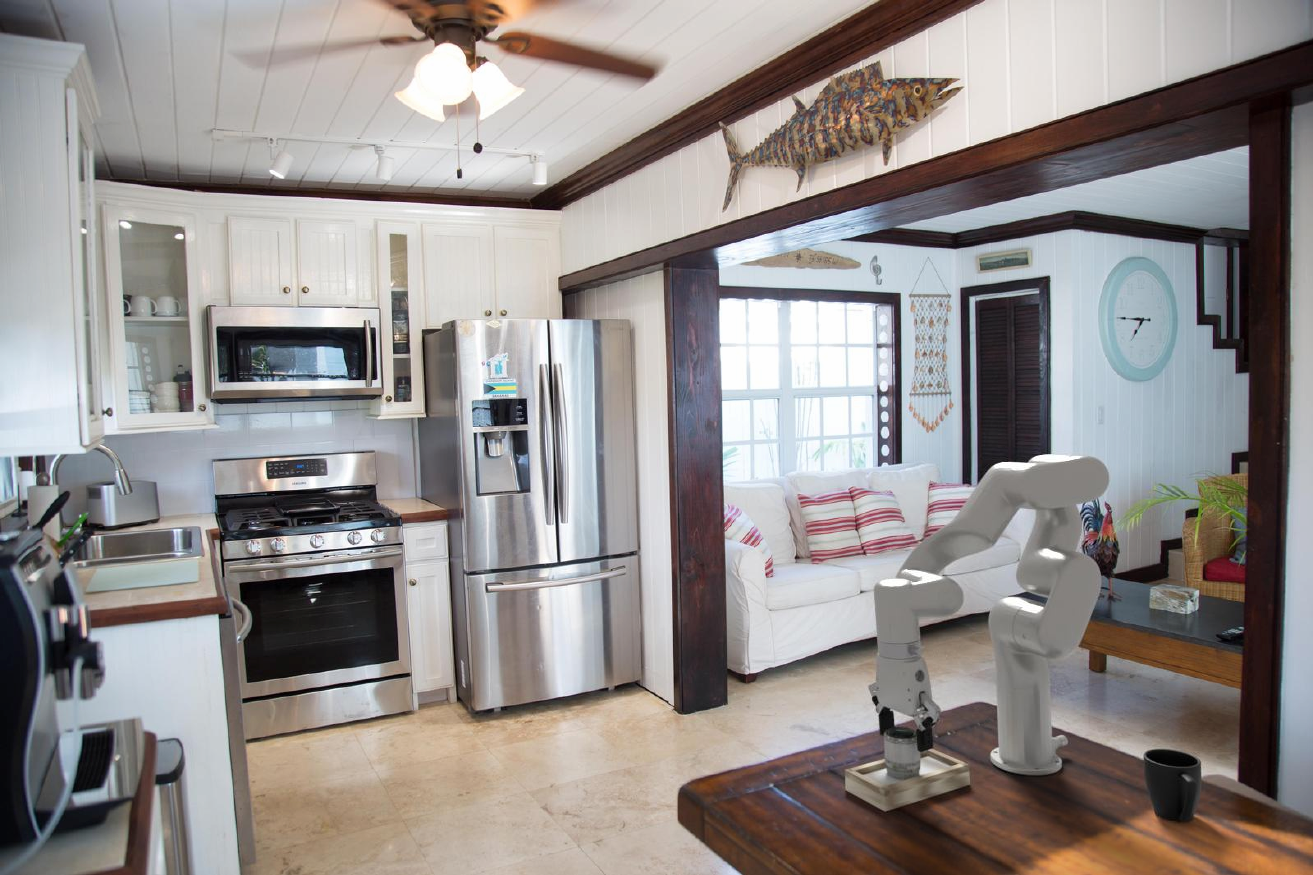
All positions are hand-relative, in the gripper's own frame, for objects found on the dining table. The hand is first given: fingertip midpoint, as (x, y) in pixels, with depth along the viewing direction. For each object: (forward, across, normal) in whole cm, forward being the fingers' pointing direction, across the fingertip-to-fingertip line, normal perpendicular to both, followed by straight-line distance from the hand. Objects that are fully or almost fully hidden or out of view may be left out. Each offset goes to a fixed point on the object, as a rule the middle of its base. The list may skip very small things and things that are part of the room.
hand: (906, 741), depth 160 cm
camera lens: (+6, 0, +1) cm, 6 cm away
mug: (+10, -33, -27) cm, 43 cm away
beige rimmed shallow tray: (+8, 0, 0) cm, 9 cm away
